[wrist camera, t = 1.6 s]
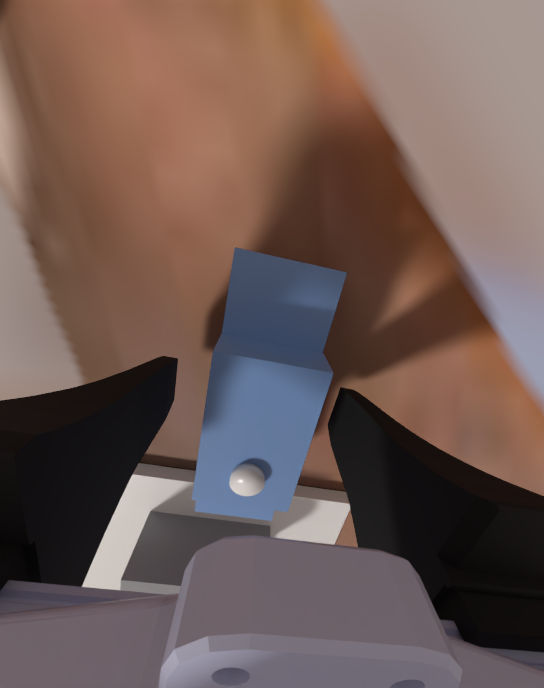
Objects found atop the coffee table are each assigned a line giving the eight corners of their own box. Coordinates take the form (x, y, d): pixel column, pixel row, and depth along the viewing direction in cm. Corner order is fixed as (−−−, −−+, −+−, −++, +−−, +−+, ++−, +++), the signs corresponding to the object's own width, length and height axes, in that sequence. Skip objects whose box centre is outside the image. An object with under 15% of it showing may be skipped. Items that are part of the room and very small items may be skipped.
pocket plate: (348, 492, 16) (374, 570, 13) (288, 630, 22) (293, 714, 18) (78, 454, 15) (11, 530, 11) (88, 612, 21) (46, 700, 17)
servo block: (324, 263, 12) (368, 281, 7) (270, 464, 16) (272, 567, 11) (243, 245, 11) (226, 249, 6) (209, 455, 15) (182, 557, 10)
